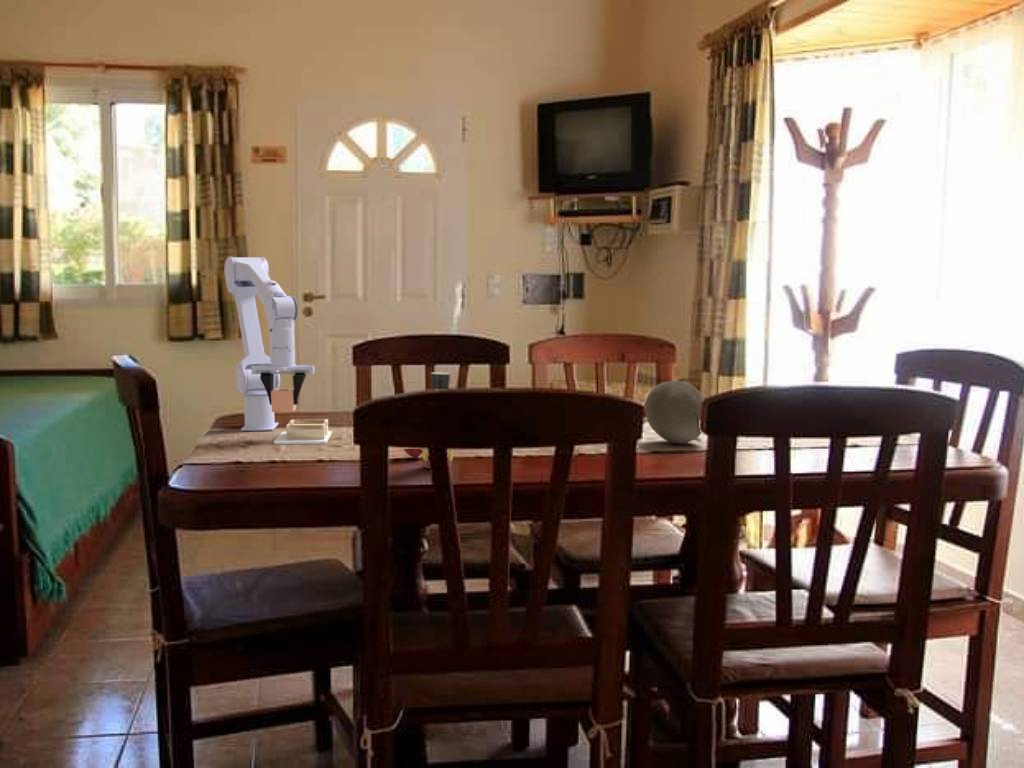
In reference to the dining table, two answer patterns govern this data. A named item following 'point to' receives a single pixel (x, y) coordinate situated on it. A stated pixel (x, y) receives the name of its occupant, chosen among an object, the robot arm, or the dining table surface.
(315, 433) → the birch tray
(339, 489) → the dining table surface
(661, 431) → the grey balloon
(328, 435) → the white board
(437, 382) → the sauce bottle
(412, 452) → the onion
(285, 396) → the terracotta block
